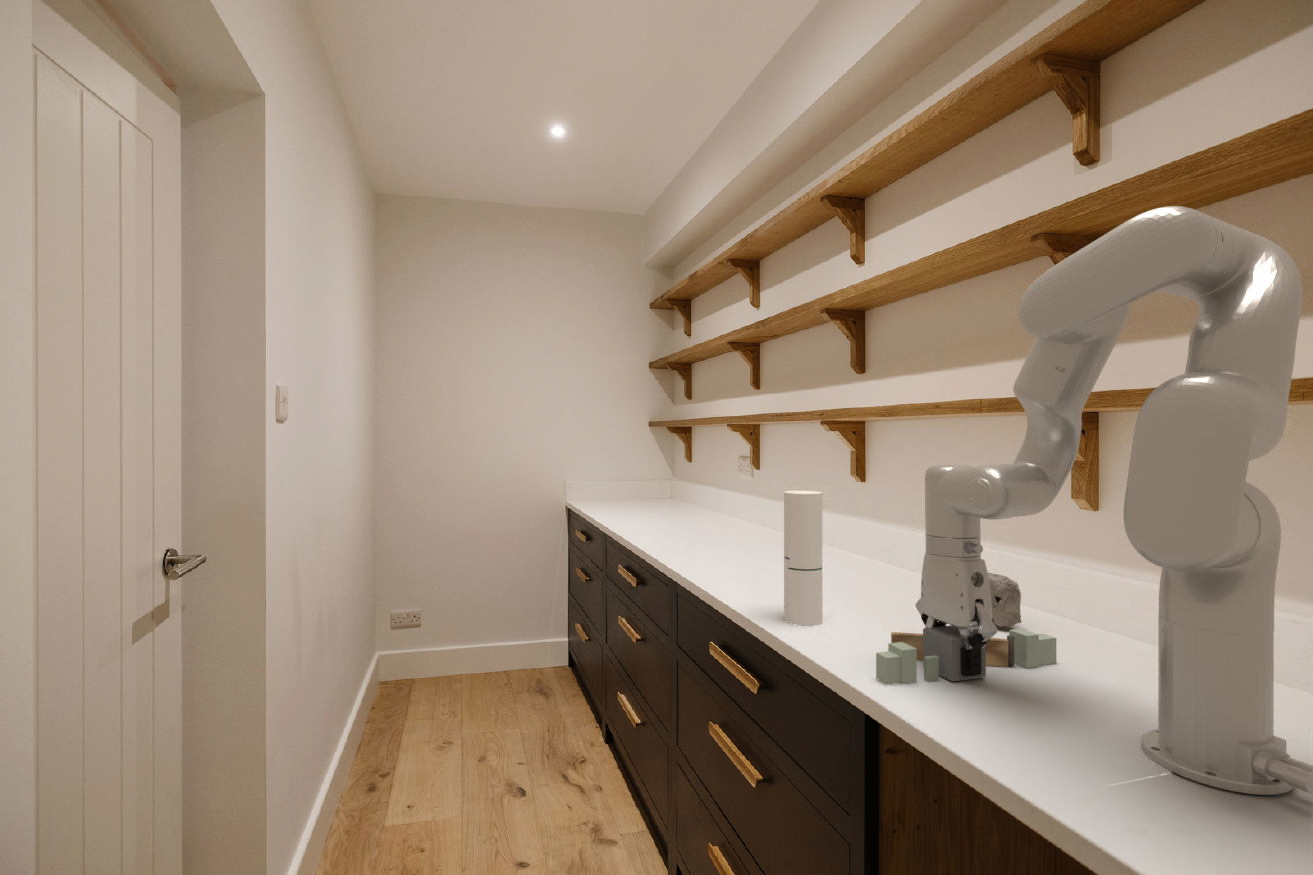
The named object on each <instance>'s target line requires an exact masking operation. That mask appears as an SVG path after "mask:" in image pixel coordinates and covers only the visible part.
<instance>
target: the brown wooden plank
mask: <svg viewBox="0 0 1313 875" xmlns="http://www.w3.org/2000/svg"><path fill="white" fill-rule="evenodd" d="M890 633H891V634H890V635H891V636H890V638H891V639H890V643H897V642H903V643H905V644H908V645H910V646H912V647H914V648H916V649H917V661H923V633H913V632H912V633H911V632H896V631H891V632H890ZM985 656H986V666H987V667H988V666H989V667H1000V668H1001V667H1002V668H1015V664H1014V636H1011V635H1006V638H999V637H992V638H990V640H989V641H988V642H987V643H986V644H985Z"/></svg>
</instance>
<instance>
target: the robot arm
mask: <svg viewBox="0 0 1313 875" xmlns="http://www.w3.org/2000/svg"><path fill="white" fill-rule="evenodd" d="M1155 292H1159V293H1162V294H1167V295H1172V296H1175V297H1181V298H1186V299H1190V300H1192V301H1194V302H1196V304H1197V306H1198V313H1197V317H1196V319H1195V321H1194V324H1193V326H1192V329H1191V332H1190V336H1189V341H1188V348H1187V350H1188V351H1187V358H1186V363H1185V364H1186V365H1185V370H1184V374H1180V375H1177V376H1174V377H1172V378H1170V379H1167V380H1166V381H1165V382H1163V383H1161V384H1160V385H1158V386H1157V387H1156V388H1155V389H1154V390H1152V392H1150V393H1149V395H1148V396H1147V398H1146V399H1144V400H1145V401H1144V402H1143V404H1142V405H1141V407H1140V410H1139V412H1138V414H1137V417H1136V421H1135V424H1134V431H1133V437H1132V444H1131V450H1130V451H1131V452H1130V458H1129V459H1130V460H1129V465H1128V472H1127V479H1126V480H1127V481H1126V487H1125V488H1126V489H1125V494H1124V502H1123V525H1124V529H1125V530H1124V531H1125V533H1126V536H1127V539H1128V541H1129V542H1130V544H1131V545H1132V547H1133V548H1134V550H1135V551H1136V552H1137V553H1138V554H1139V555H1140V556H1141V557H1142V558H1144V560H1146V561H1148V562H1149V563H1150V564H1153V565H1155V566H1157V567H1159V568H1161V572H1160V579H1159V590H1158V615H1157V616H1158V619H1157V620H1158V622H1157V623H1158V631H1157V632H1158V635H1157V637H1158V640H1157V641H1158V643H1157V644H1158V646H1157V647H1158V648H1157V649H1158V652H1157V654H1158V657H1157V658H1158V659H1157V660H1158V661H1157V662H1158V666H1157V667H1158V668H1157V669H1158V671H1157V672H1158V675H1157V676H1158V678H1157V679H1158V685H1157V687H1158V708H1157V709H1158V710H1157V711H1158V729H1154V730H1153V729H1152V730H1149V731H1147V732H1145V733H1143V734H1142V736H1141V740H1140V741H1141V745H1140V747H1141V750H1142V752H1143V753H1144V754H1145V756H1147V757H1148V758H1149V759H1150V760H1151V761H1152V762H1154V763H1156V764H1157V765H1159V766H1161V767H1162V768H1164V769H1166V770H1168V771H1171V773H1174V774H1176V775H1178V776H1181V777H1183V778H1185V779H1187V780H1191V781H1194V782H1196V783H1199V784H1203V785H1207V786H1210V787H1211V788H1212V787H1213V788H1216V789H1220V790H1224V791H1225V790H1226V791H1230V792H1235V793H1242V794H1247V795H1248V794H1249V795H1258V796H1259V795H1261V796H1274V795H1282V794H1285V793H1288V792H1290V791H1291V790H1293V789H1294V788H1295V789H1298V790H1300V791H1302V792H1305V793H1308V794H1309V795H1313V765H1312V764H1309V763H1307V762H1304V761H1302V760H1297V759H1295V758H1292V757H1291V756H1290V754H1289V753H1287V740H1286V739H1284V738H1282V737H1281V738H1280V737H1278V736H1275V734H1274V732H1275V730H1274V725H1275V724H1274V722H1275V721H1274V720H1275V719H1274V714H1275V713H1274V709H1275V708H1274V706H1275V705H1274V700H1275V698H1274V690H1275V688H1274V687H1275V686H1274V678H1275V677H1274V676H1275V675H1274V674H1275V673H1274V669H1275V668H1274V667H1275V666H1274V657H1275V656H1274V641H1275V640H1274V637H1275V636H1274V632H1275V598H1276V597H1275V594H1276V590H1275V589H1276V581H1277V580H1276V579H1277V570H1278V565H1279V564H1278V563H1279V558H1280V550H1281V543H1282V541H1281V540H1282V526H1281V521H1280V516H1279V513H1278V511H1277V508H1276V507H1275V505H1274V503H1273V502H1272V500H1271V499H1270V498H1269V497H1268V495H1266V494H1265V493H1264V492H1263V491H1262V490H1261V489H1259V487H1257V486H1255V485H1253V484H1251V483H1250V482H1247V474H1248V469H1249V463H1250V462H1251V461H1254V460H1258V459H1260V458H1262V457H1264V456H1266V455H1267V454H1269V453H1270V452H1271V451H1272V450H1273V449H1274V448H1275V447H1277V446H1278V444H1279V443H1280V441H1281V439H1282V437H1283V436H1284V433H1285V430H1286V429H1285V428H1286V424H1287V414H1288V404H1289V397H1290V391H1291V384H1292V379H1293V378H1292V377H1293V372H1294V364H1295V360H1296V358H1295V356H1296V344H1297V339H1298V333H1299V332H1298V331H1299V324H1300V318H1301V312H1302V306H1303V305H1302V302H1303V283H1302V277H1301V274H1300V272H1299V269H1298V267H1297V264H1296V263H1295V261H1294V259H1293V258H1292V256H1291V255H1290V254H1289V253H1288V252H1287V251H1286V250H1285V249H1284V248H1283V247H1282V246H1280V245H1279V244H1278V243H1275V242H1273V241H1272V240H1270V239H1268V238H1266V237H1264V236H1261V235H1259V234H1256V233H1254V232H1251V231H1249V230H1246V229H1244V228H1241V227H1238V226H1236V225H1234V224H1230V223H1228V222H1225V221H1223V220H1221V219H1218V218H1215V217H1212V216H1211V215H1209V214H1206V213H1204V212H1202V211H1200V210H1198V209H1197V210H1196V209H1195V208H1191V207H1186V206H1181V205H1169V206H1168V205H1167V206H1162V207H1157V208H1153V209H1150V210H1148V211H1146V212H1142V213H1140V214H1137V215H1136V216H1134V217H1131V218H1130V219H1128V220H1126V221H1125V222H1123V223H1122V224H1119V225H1118V226H1117V227H1114V228H1113V229H1111V230H1110V231H1108V232H1107V233H1105V234H1104V235H1102V236H1100V237H1098V238H1097V239H1095V240H1094V241H1091V243H1089V244H1087V245H1085V246H1084V247H1082V248H1080V249H1079V250H1077V251H1076V252H1074V253H1073V254H1070V255H1069V256H1067V257H1066V258H1064V259H1063V260H1061V261H1059V262H1058V263H1056V264H1054V266H1052V267H1050V268H1049V269H1047V270H1046V271H1044V273H1042V274H1041V275H1040V276H1039V277H1037V278H1036V279H1035V280H1034V281H1033V282H1032V283H1031V284H1030V285H1029V286H1028V288H1027V289H1026V290H1025V292H1024V293H1023V295H1022V298H1021V300H1020V303H1019V307H1018V316H1019V321H1020V323H1021V326H1022V327H1023V328H1024V329H1025V331H1026V332H1027V333H1028V334H1030V335H1031V336H1032V337H1035V338H1034V341H1033V342H1032V345H1031V348H1030V349H1029V351H1028V352H1027V356H1026V358H1025V359H1024V360H1025V361H1024V362H1023V364H1022V365H1021V369H1020V371H1019V373H1018V376H1017V377H1016V379H1015V381H1014V384H1013V388H1012V390H1013V394H1014V396H1015V398H1016V399H1017V401H1018V402H1019V404H1021V407H1022V408H1023V410H1024V413H1025V415H1026V422H1027V425H1026V426H1027V428H1026V432H1025V437H1024V439H1023V442H1022V444H1021V446H1020V449H1019V451H1018V453H1017V455H1016V457H1015V459H1014V461H1013V462H1012V463H1007V464H1004V463H1003V464H991V465H982V466H972V465H966V464H936V465H935V464H934V465H931V466H929V467H927V469H926V471H925V474H924V508H925V509H924V512H925V513H924V514H925V518H924V519H925V523H924V524H925V552H924V556H923V562H922V563H923V564H922V570H921V578H920V581H921V584H920V597H919V599H918V600H917V601H916V602H915V608H916V610H917V611H918V613H919V615H920V618H921V620H922V622H923V624H924V628H933V627H942V626H947V625H948V626H951V625H952V626H955V627H958V628H959V631H960V634H961V638H962V641H963V645H964V648H961V675H962V676H965V677H968V676H975V675H980V674H981V672H982V670H981V648H984V647H985V644H986V643H987V642H988V641H989V640H990V638H994V636H996V635H997V634H998V627H997V625H996V624H995V623H994V621H993V619H992V603H991V591H990V583H989V577H988V573H989V572H988V568H987V564H986V561H985V559H982V553H983V551H984V548H983V545H981V544H982V542H981V538H982V537H981V519H983V520H993V521H995V520H1004V519H1013V518H1015V517H1016V518H1017V517H1027V516H1034V515H1036V514H1039V513H1041V512H1043V511H1044V510H1046V509H1047V508H1049V506H1050V505H1051V504H1052V503H1053V501H1054V500H1055V499H1056V498H1057V496H1058V494H1059V493H1060V491H1061V490H1062V487H1063V486H1064V484H1065V482H1066V480H1067V478H1068V476H1069V474H1070V473H1071V470H1072V468H1073V466H1074V463H1075V462H1076V459H1077V456H1078V453H1079V447H1080V441H1081V433H1082V426H1083V421H1082V420H1083V419H1082V414H1083V410H1084V407H1085V405H1086V403H1087V401H1088V398H1089V397H1090V395H1091V393H1092V391H1093V389H1094V388H1095V385H1096V383H1097V381H1098V379H1099V378H1100V375H1101V373H1102V371H1103V370H1104V367H1105V365H1106V363H1107V361H1108V360H1109V357H1110V356H1111V353H1112V352H1113V350H1114V347H1115V346H1116V344H1117V342H1118V340H1119V338H1120V336H1121V334H1122V333H1123V330H1124V328H1125V326H1126V324H1127V322H1128V319H1129V315H1130V312H1131V304H1133V303H1135V302H1137V301H1139V300H1141V299H1142V298H1145V297H1146V296H1149V295H1151V294H1153V293H1155ZM969 631H972V632H973V635H974V636H973V637H972V638H970V634H969Z"/></svg>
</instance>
